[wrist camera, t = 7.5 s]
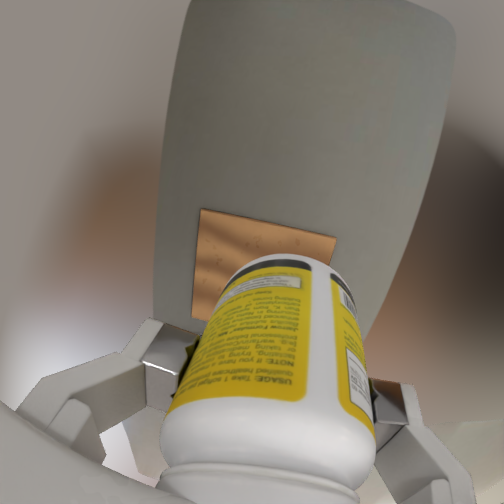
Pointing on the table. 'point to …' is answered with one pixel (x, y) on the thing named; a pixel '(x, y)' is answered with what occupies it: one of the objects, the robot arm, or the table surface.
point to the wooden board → (244, 252)
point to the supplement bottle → (274, 394)
